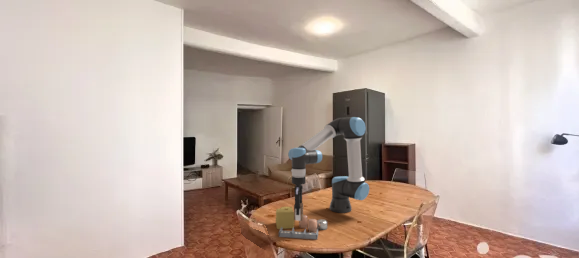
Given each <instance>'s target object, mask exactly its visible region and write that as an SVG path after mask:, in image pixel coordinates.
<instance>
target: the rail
mask: <svg viewBox="0 0 579 258" xmlns="http://www.w3.org/2000/svg"><path fill="white" fill-rule="evenodd" d="M278 238H291V239H303V240H304V239H306V240H307V239H308V240H318V238H319V229H317V232H315V233H312V232H309V231H307V228H304V231H296V230H295V227H294V228H291V230H284V229H283V227H281V229H279V231H278Z"/></svg>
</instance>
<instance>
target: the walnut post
mask: <svg viewBox="0 0 579 258" xmlns="http://www.w3.org/2000/svg"><path fill="white" fill-rule="evenodd" d="M302 203H303V202H302ZM302 203H300V208H301V220H300V221H302V220H303V215H304V203H303V204H302ZM294 207H295V203H294V205H293V212H294V220H295V209H294ZM295 221H296V220H295Z"/></svg>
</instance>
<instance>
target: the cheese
mask: <svg viewBox="0 0 579 258" xmlns="http://www.w3.org/2000/svg"><path fill="white" fill-rule="evenodd" d="M295 221H296V220H294V208H293V207H292V206H281V207H280V208H276V211H275V224H276V229H277V230H280V229H281V227H283V230H284V229H285V230H286V229H293V228H294V229H295V224H296V223H295Z"/></svg>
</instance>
